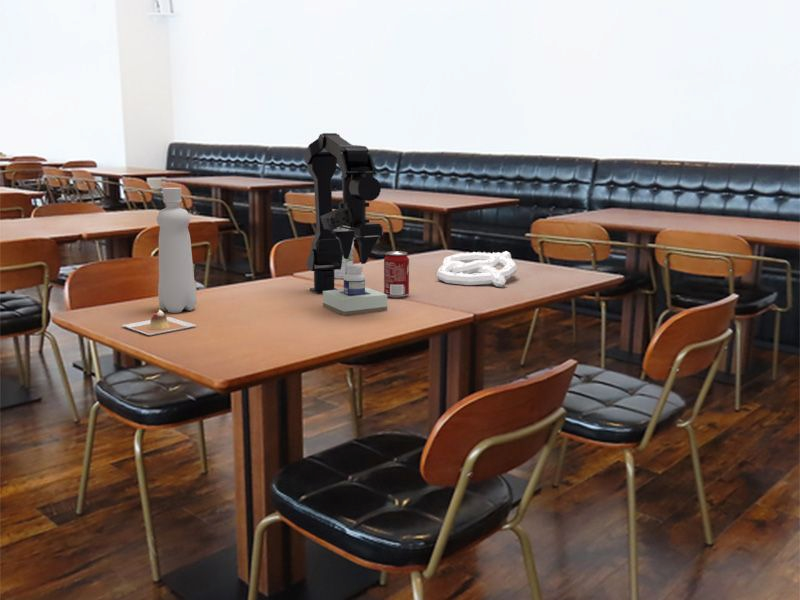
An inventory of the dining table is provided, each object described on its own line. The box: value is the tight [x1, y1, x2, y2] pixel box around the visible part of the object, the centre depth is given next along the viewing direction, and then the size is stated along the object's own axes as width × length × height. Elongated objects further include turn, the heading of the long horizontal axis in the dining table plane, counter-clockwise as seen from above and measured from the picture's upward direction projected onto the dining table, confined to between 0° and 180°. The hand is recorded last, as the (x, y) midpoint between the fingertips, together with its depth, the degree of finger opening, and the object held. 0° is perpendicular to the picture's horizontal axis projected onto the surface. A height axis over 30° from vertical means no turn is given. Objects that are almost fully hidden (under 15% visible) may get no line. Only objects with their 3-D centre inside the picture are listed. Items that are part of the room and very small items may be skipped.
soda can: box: [383, 250, 410, 299], centre depth 209 cm, size 7×7×12 cm
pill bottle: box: [343, 264, 366, 296], centre depth 194 cm, size 5×5×10 cm
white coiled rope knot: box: [436, 250, 518, 288], centre depth 237 cm, size 28×24×6 cm
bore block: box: [322, 286, 388, 317], centre depth 195 cm, size 12×12×4 cm
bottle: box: [156, 187, 198, 314], centre depth 189 cm, size 9×9×30 cm
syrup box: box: [334, 238, 355, 280], centre depth 236 cm, size 6×6×14 cm
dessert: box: [121, 309, 197, 337], centre depth 174 cm, size 12×12×5 cm
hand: (354, 261), depth 192 cm, fingers open, 9 cm apart
